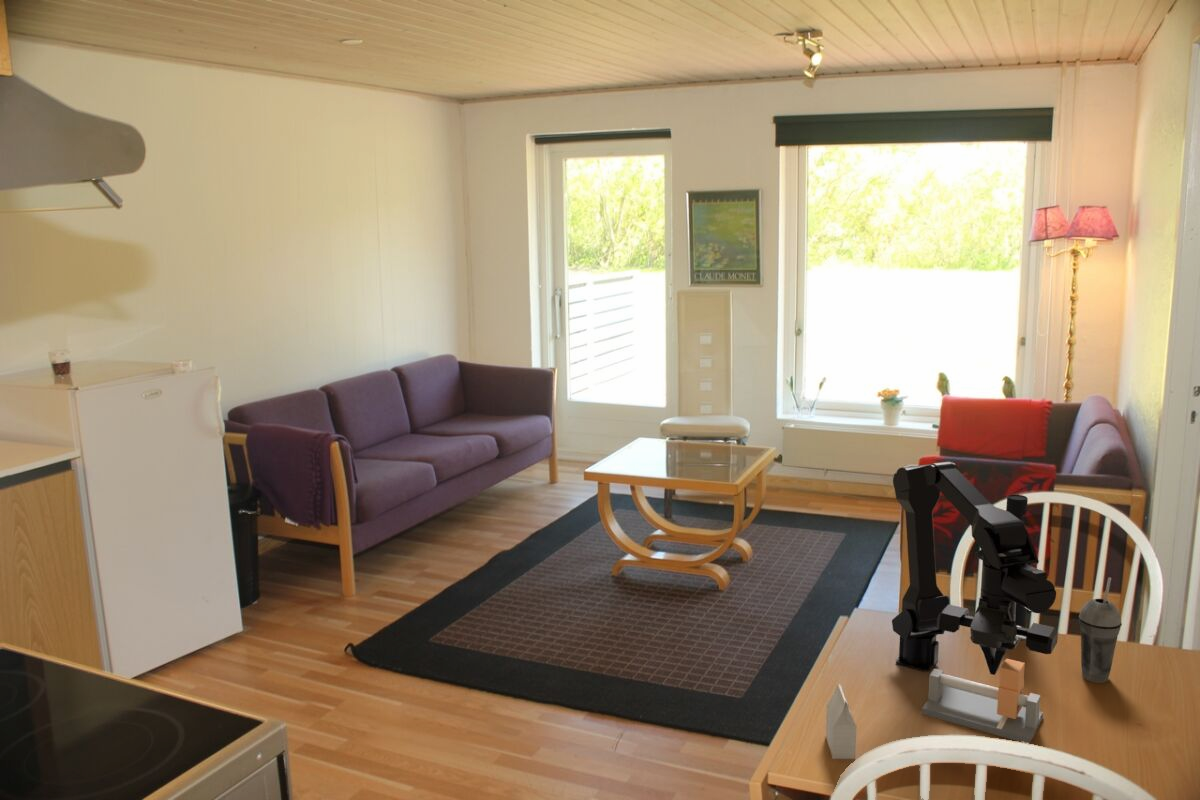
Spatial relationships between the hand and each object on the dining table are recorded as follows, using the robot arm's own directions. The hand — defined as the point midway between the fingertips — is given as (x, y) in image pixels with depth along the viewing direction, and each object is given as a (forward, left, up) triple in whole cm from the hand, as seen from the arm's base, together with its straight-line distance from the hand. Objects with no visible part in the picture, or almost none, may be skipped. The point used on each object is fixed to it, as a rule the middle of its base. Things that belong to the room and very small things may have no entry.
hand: (993, 673), depth 170 cm
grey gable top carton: (-19, -23, -9) cm, 31 cm away
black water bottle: (-6, +36, -9) cm, 38 cm away
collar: (+3, 0, -6) cm, 7 cm away
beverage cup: (+12, +26, -9) cm, 30 cm away
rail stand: (-2, 0, -9) cm, 9 cm away
